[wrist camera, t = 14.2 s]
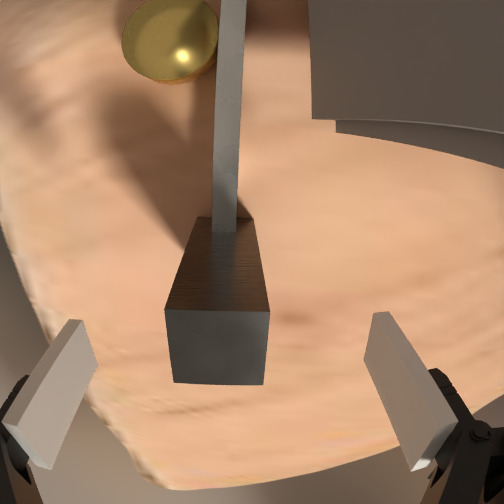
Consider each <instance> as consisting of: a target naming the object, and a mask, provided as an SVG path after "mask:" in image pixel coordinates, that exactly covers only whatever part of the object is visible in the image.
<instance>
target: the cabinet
mask: <svg viewBox="0 0 504 504" xmlns="http://www.w3.org/2000/svg"><path fill="white" fill-rule="evenodd" d="M308 16H309V35H310V58H311V95H312V119H319V120H336V132H337V133H344V134H351V135H358V136H364V137H370V138H376V139H382V140H388V141H393V142H399V143H404V144H409V145H414V146H418V147H423V148H428V149H432V150H437V151H441V152H445V153H449V154H453V155H457V156H461V157H465V158H469V159H472V160H476V161H479V162H483V163H486V164H490V165H493V166H496V167H500V168H503V169H504V0H308Z"/></svg>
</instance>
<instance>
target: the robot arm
mask: <svg viewBox="0 0 504 504" xmlns="http://www.w3.org/2000/svg"><path fill="white" fill-rule="evenodd" d="M364 362H365V364H366V366H367V369H368V371H369V373H370V375H371V378H372V380H373V382H374V384H375V387H376V389H377V391H378V393H379V396H380V398H381V400H382V403H383V405H384V407H385V410H386V412H387V414H388V417H389V419H390V421H391V424H392V426H393V428H394V431H395V433H396V436H397V438H398V441H399V443H400V445H401V448H402V450H403V453H404V455H405V458H406V460H407V463H408V465H409V468H410V471H414V470H417V469H420V468H423V467H427V466H429V464H430V463H431V462H432V460H433V459H434V458H435V459H436V461H437V464H438V465H437V466H436V467H435V469H434V470H433V471H432V472H431V474H430V475H429V477H428V479H430V478H431V480H430V483H429V485H428V487H427V490H426V492H425V494H424V496H423V499H422V501H421V503H420V504H504V427H501V428H491V427H490V426H489V425H488V424H487V423H485V422H483V421H479V420H475V419H474V418H473V416H472V415H471V413H470V411H469V410H468V408H467V407H466V405H465V403H464V402H463V400H462V399H461V397H460V396H459V394H458V393H457V391H456V389H455V388H454V386H452V383H451V382H450V380H449V379H448V377H447V376H446V375H445V374H444V373H443V372H441V371H440V370H439V369H437V368H434V369H430V370H427V368H426V367H425V365H424V364H423V362H422V361H421V359H420V357H419V356H418V354H417V353H416V351H415V350H414V348H413V347H412V345H411V344H410V342H409V341H408V339H407V338H406V336H405V335H404V333H403V332H402V330H401V329H400V327H399V326H398V324H397V323H396V321H395V320H394V318H393V317H392V316H391V314H390V313H389V311H388V312H378V313H373V318H372V323H371V328H370V333H369V338H368V342H367V347H366V351H365V356H364ZM97 367H98V363H97V360H96V358H95V355H94V352H93V349H92V347H91V344H90V341H89V338H88V335H87V332H86V329H85V326H84V323H83V320H74V319H69V320H68V322H67V323H66V324H65V326H64V327H63V328H62V330H61V331H60V333H59V334H58V335H57V337H56V338H55V340H54V341H53V342H52V344H51V345H50V347H49V348H48V350H47V351H46V352H45V354H44V355H43V357H42V358H41V360H40V361H39V363H38V364H37V366H36V367H35V369H34V370H33V372H32V373H31V375H25V376H24V377H23V378H22V379H20V380H19V381H18V382H17V384H16V385H15V387H14V388H13V390H12V392H11V393H10V394H9V396H8V399H6V401H5V402H4V404H3V405H2V407H1V409H0V504H43V502H42V499H41V496H40V494H39V491H38V488H37V486H36V483H35V480H34V477H33V474H32V471H31V468H30V467H29V465H28V464H27V462H28V459H29V457H30V459H31V460H32V461H33V462H34V463H35V464H36V465H37V466H39V467H43V468H46V469H49V470H52V467H53V465H54V462H55V460H56V457H57V455H58V452H59V450H60V448H61V445H62V443H63V440H64V438H65V436H66V433H67V431H68V429H69V427H70V424H71V422H72V420H73V417H74V415H75V413H76V411H77V408H78V406H79V404H80V402H81V400H82V398H83V396H84V394H85V391H86V389H87V387H88V385H89V383H90V381H91V379H92V377H93V375H94V373H95V371H96V369H97Z"/></svg>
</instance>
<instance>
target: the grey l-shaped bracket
mask: <svg viewBox="0 0 504 504" xmlns="http://www.w3.org/2000/svg"><path fill="white" fill-rule="evenodd" d="M246 5H247V0H221V12H220V25H219V40H218V56H217V74H216V94H215V117H214V146H213V188H212V218H207V217H197V220H196V222H195V225H194V228H193V230H192V233H191V236H190V238H189V241H188V244H187V246H186V249H185V252H184V254H183V257H182V260H181V263H180V265H179V268H178V271H177V274H176V277H175V280H174V282H173V285H172V288H171V291H170V294H169V297H168V300H167V303H166V306H165V309H164V310H165V320H166V328H167V337H168V345H169V352H170V360H171V367H172V374H173V380H174V383H188V384H210V385H263V381H264V371H265V361H266V351H267V340H268V330H269V319H270V308H269V303H268V297H267V291H266V286H265V280H264V275H263V269H262V263H261V258H260V252H259V247H258V241H257V236H256V230H255V225H254V219H247V218H236V216H237V188H238V162H239V138H240V116H241V95H242V75H243V56H244V38H245V21H246Z"/></svg>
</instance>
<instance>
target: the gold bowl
mask: <svg viewBox="0 0 504 504" xmlns="http://www.w3.org/2000/svg"><path fill="white" fill-rule="evenodd" d="M218 40H219V25H218V21H217V18H216V15H215V13H214V12H213V10H212V9H211V8H210V6H209V5H208V4H206V3H205V2H204V1H203V0H149V1H148V2H146V3H144V4H143V5H142V6H140V7H139V8H138V9H137V10H136V11H135V12H134V13H133V14H132V16H131V17H130V18H129V20H128V22H127V24H126V26H125V28H124V31H123V35H122V50H123V54H124V57H125V59H126V61H127V62H128V64H129V65H130V66H131V67H132V68H133V69H134V70H135V71H136V72H138V73H139V74H141V75H143V76H145V77H147V78H150V79H152V80H154V81H156V82H159V83H163V84H170V85H176V84H183V83H187V82H190V81H192V80H195V79H196V78H198V77H200V76H201V75H203V74H204V73H205V72H206V71H208V70H209V68H210V67H211V66H212V65H213V64H214V62H215V61H216V59H217V56H218Z"/></svg>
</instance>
